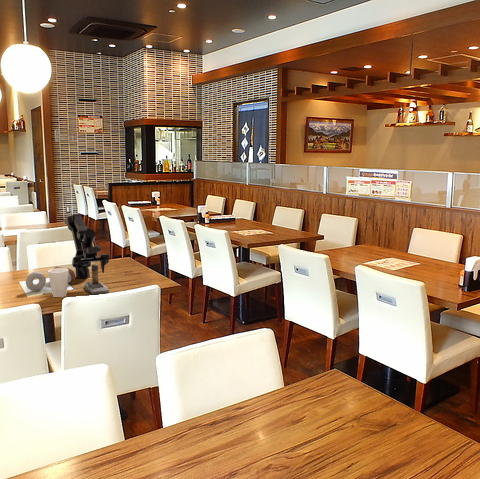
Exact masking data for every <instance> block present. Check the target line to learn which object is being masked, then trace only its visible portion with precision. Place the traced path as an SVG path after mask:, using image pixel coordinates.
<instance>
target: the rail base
mask: <svg viewBox="0 0 480 479" xmlns="http://www.w3.org/2000/svg"><path fill="white" fill-rule="evenodd" d="M99 282H100V283H101V284H102V287H99V288H91V287H90V286H89V283H92V281H86V283H84V285H83V288H84V289H85V291H87V293H88V294H90V295H97V294H98V295H99V294H107V293H109V292H110V290H109V288H108V287H107V286H106V285H104V284H103V283H102V282H101V281H99Z"/></svg>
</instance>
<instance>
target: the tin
mask: <svg viewBox="0 0 480 479" xmlns="http://www.w3.org/2000/svg"><path fill="white" fill-rule="evenodd" d="M56 268H63V267H60V266H56V267H54V268H52V269H56ZM65 268H66V269H68V271H69V275H68V283H67V285H69V284H72V283H74V282H75V280H76V278H75V277H76V272H74V270H72V269H71V268H69V267H65Z"/></svg>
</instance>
